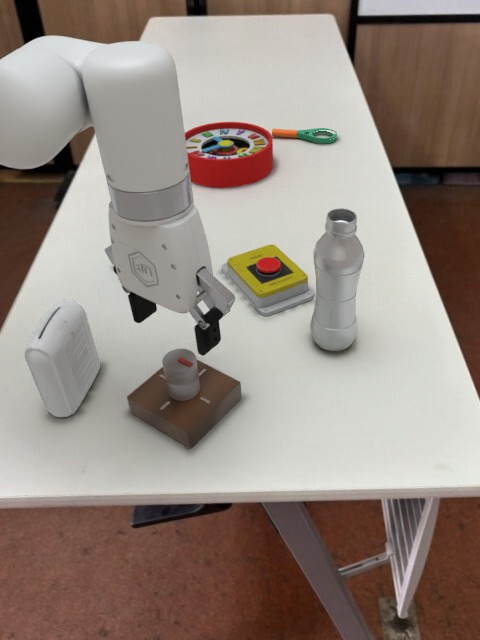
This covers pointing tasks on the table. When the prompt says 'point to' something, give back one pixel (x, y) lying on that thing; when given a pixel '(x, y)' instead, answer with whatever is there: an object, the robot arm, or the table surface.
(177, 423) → the dial panel
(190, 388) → the dial
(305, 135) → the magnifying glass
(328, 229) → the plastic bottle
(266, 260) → the emergency button
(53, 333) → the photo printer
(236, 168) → the toy clock
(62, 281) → the table surface
